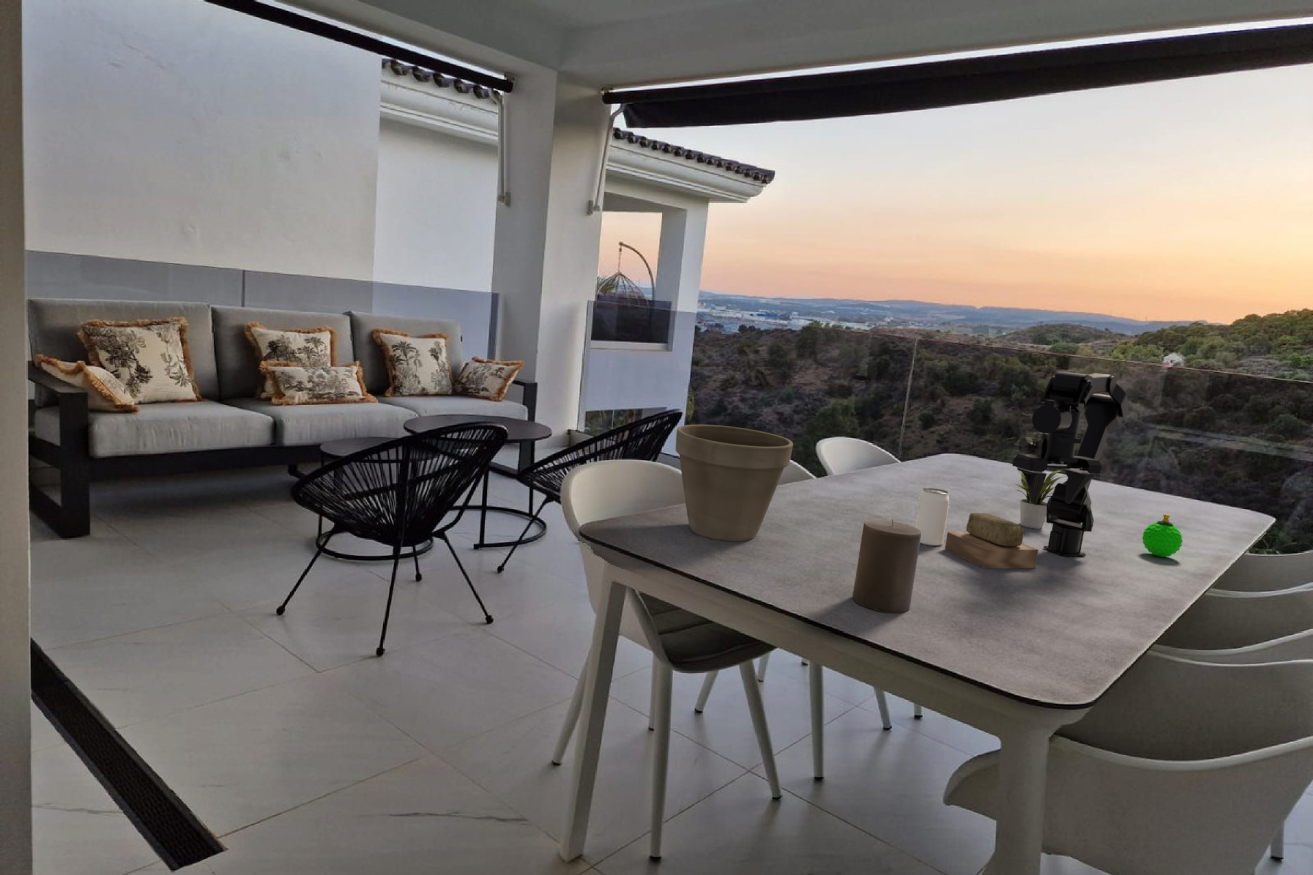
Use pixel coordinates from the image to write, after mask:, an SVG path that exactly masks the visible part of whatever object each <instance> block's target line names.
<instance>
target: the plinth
mask: <svg viewBox="0 0 1313 875" xmlns="http://www.w3.org/2000/svg"><path fill="white" fill-rule="evenodd" d="M944 550H945V551H947V552H950V553H952V555H953V554H954V555H956V556H958V557H960V558H962V559H964V560H966V561H968V562H970V563H973V564H974V565H976V566H979V567H980V568H983V569H1035V568H1036V566H1037V561H1038V554H1039V549H1038V548H1037V547H1034V546H1030V545H1028V544H1026V543H1023V542H1022V544H1021V545H1020V546H1016V547H1012V546H1001V545H997V544H994V543H992V542H989V541H987V540H984V539H981V538H979V537H976V536H974V535H972V534H970V533H969V532H968V531H947V533H946V540H945V547H944Z"/></svg>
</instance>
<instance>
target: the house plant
mask: <svg viewBox="0 0 1313 875" xmlns="http://www.w3.org/2000/svg"><path fill="white" fill-rule="evenodd" d="M1015 471H1017V472H1018V473H1019V474H1020V482H1021V484H1017V483H1014V485H1015V486H1017V487H1018V488H1019V487H1020V488H1021V489H1022V490H1024V491H1025V492H1026V493H1024V492H1023V491H1022V490H1020V489H1016V490H1015V492H1021V493H1022V495H1024V496H1025V498H1021V499H1020V501H1019V502H1020V503H1019V505H1020V506H1019V508H1020V521H1019V523H1020V524H1019V525H1021V526H1022V527H1026V528H1031V529H1039V530H1040V529H1042V528H1043V526H1044V524H1045V520H1046V512H1047V502H1045V499H1047V498H1050V497H1051V496H1052V494H1053V492H1051V491H1052V490H1053V491H1054V489H1055V486H1053V485H1054V484H1055V483H1056V482H1057V481H1059V480H1060V479H1063V478H1066V477H1067V475H1064V476H1059V477H1058V475H1057V474H1058V473H1059V472H1061V470H1055V471H1053V472H1051V473H1049V474H1048V475H1047V476H1046V478H1045V481H1044V484H1043V486H1042V489H1041V492H1040V495H1039V497H1038V499H1037V502H1036V503H1032V502H1031V499H1030V495H1029V490H1028V485H1027V481H1026V478H1025V476H1024V475H1023V473H1022V472H1021V471H1018V470H1017V469H1015ZM1067 478H1068V477H1067ZM1050 492H1051V493H1050Z"/></svg>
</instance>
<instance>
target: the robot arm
mask: <svg viewBox="0 0 1313 875" xmlns="http://www.w3.org/2000/svg"><path fill="white" fill-rule="evenodd" d="M1102 393H1108V394H1102ZM1040 402H1041V403H1044V404H1043V405H1041V406H1039V407H1038V408H1036V409H1035V411H1034V412H1033V414H1032V417H1031V423H1032V425H1033V427H1034V428H1035V429H1036V430H1037V431H1038V432H1040V433H1042V435H1041V438H1040V440H1033V439H1032V437H1028V436H1027V437H1025V436H1024V437H1020V439H1019V444H1018V451H1019V453H1017V454H1015V456H1013V458H1012V459H1013V461H1012V467H1015V468H1016V470H1017V472H1018V471H1019V472H1021V473H1022V474H1023V475H1024V476H1025V478H1026V481H1027V485H1028V490H1029V495H1030V499H1031V502H1032V503H1036V502H1037V499H1038V497H1039V495H1040V492H1041V489H1042V486H1043V484H1044V482H1045V480H1046V478H1047V476H1048V475H1047V473H1046V472H1045V471H1046V470H1047V469H1049V468H1051V469H1052V468H1053V469H1064V471H1065V475H1066V476H1067V479H1066V481H1064V482H1062V483H1061V482H1057V483H1056V485H1055V486H1054V487H1055V488H1054V489H1053V492H1052V493H1053V494H1051V495H1050V496H1051V497H1048V500H1047V502H1046V503H1047V512H1046V518H1045V520H1046V523H1047V524H1052V527H1051V531H1049V539H1048V544H1047V545H1043V549H1045V550H1047V551H1050V552H1052V553H1054V554H1057V555H1060V556H1063V557H1086V555H1087V554H1086V553H1085V552H1082V551H1081V550H1082V546H1083V545H1082V544H1083V540H1084V534H1085V532H1091V533H1092V530H1093V527H1094V522H1095V520H1094V515H1093V510H1092V500H1091V496H1090V493H1089V488H1090V486H1091V482H1092V480H1093V478H1095V477H1096V475H1098V474H1099V475H1100V474H1101V471H1102V464H1101V462H1100V458H1101V455H1102V453H1103V450H1104V447H1105V445H1106V443H1107V440H1108V436H1109V435H1110V434H1111V433H1112V432H1114V431H1116V430H1117V429H1118V428H1119V427H1121V424H1122V423H1123V420H1124V418H1126V417H1127V415H1128V412H1129V400H1128V395H1127V392H1126V391H1125V390H1124V389H1123V388H1122V387H1121V386H1120V385H1119V384H1118V382H1117V378H1116V376H1113V374H1105V373H1096V372H1093V373H1090V374H1086V373H1078V372H1068V371H1061V370H1060V371H1059V370H1057V371H1056V372H1055V373H1054V374H1053V375H1052V376H1051V378H1050V379H1049V381H1048V383H1047V386H1046V388H1045V390H1044V392H1043V394H1042V397H1041V399H1040ZM1083 410H1084V413H1083V414H1084V417H1085V420H1086V423H1087V426H1086V429H1085V432H1084V434H1083V436H1082V438H1078V433H1079V428H1080V427H1079V426H1080V421H1081V416H1082V411H1083ZM1077 444H1078V445H1079V444H1080V445H1079V446H1078V447H1079V448H1078V450H1077V453H1076V455H1075V451H1076V445H1077Z"/></svg>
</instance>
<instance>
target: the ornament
mask: <svg viewBox="0 0 1313 875" xmlns="http://www.w3.org/2000/svg"><path fill="white" fill-rule="evenodd" d="M1170 517H1171V515H1170V514H1168V513H1167V514H1165V513H1163V518H1162V520H1157V522H1152V523H1151V524H1149V525H1147V526H1146V528H1145V529H1144V531H1143V533H1142V537H1141V539H1142V544H1143V546H1144V548H1145V549H1147V551H1148V552H1149V553H1151V554H1152V555H1153V556H1156V555H1157V556H1156V557H1158V556H1161V557H1163V558H1165V557H1171V556H1172V555H1175V554H1176V553H1177V552H1179V551H1180V549H1181V547H1182V546H1183V545H1182V544H1183V541H1184V540H1183V536H1182V534H1181V531H1180V530H1179V529H1178V528H1177V526H1176V525H1174V524H1173V523H1172V522H1170V520H1169V518H1170Z"/></svg>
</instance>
